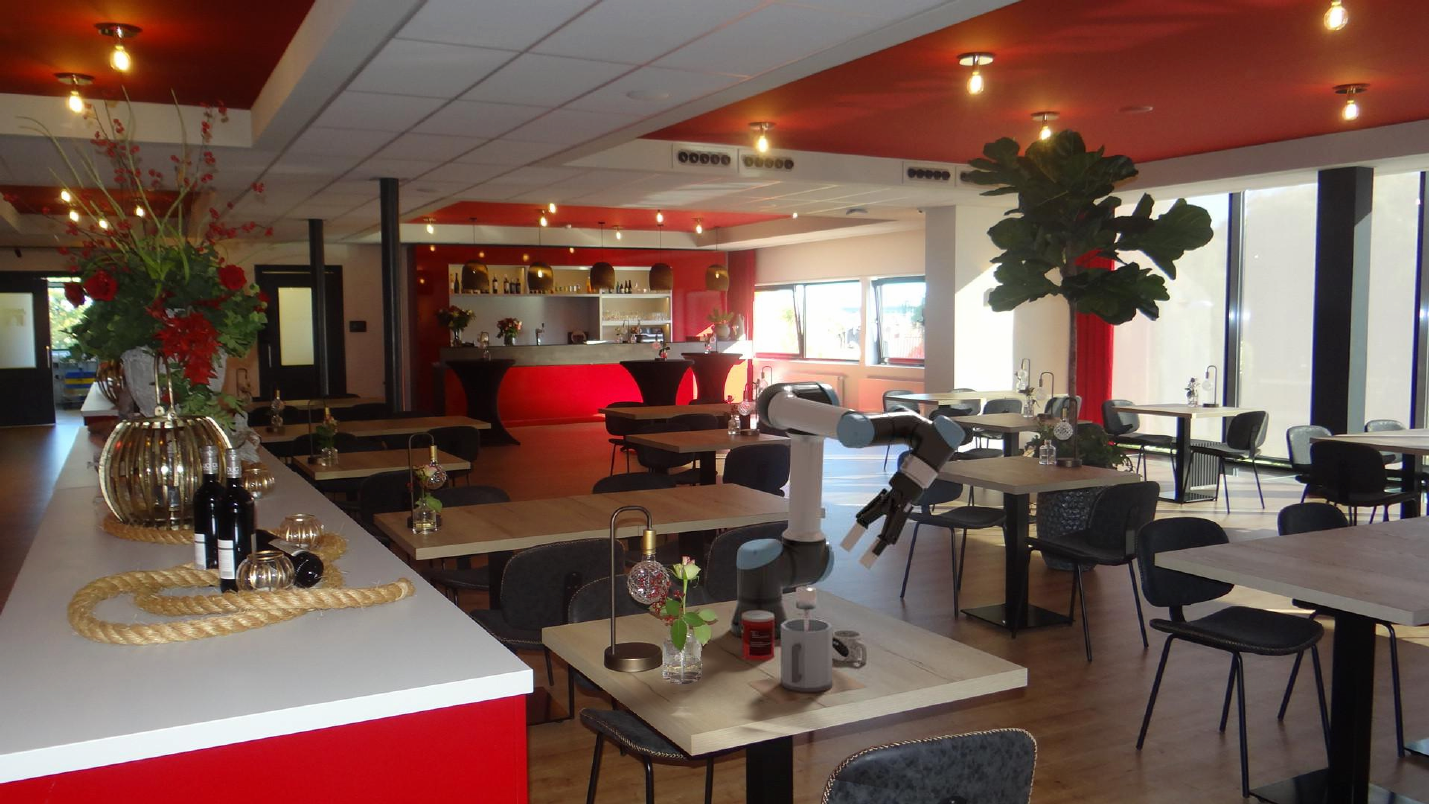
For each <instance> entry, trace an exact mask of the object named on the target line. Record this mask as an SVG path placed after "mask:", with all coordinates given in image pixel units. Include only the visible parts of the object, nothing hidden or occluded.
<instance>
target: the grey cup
mask: <svg viewBox="0 0 1429 804" xmlns="http://www.w3.org/2000/svg"><path fill="white" fill-rule="evenodd" d="M832 633H833V625H832V623H830V622H829V621H825V620H822V619H817V618H810V617H809V632H804V617H803V618H793V619H788V620H787V621H785V622H783V623H782V624H781V637H780V677H781V687H782V688H784V689H785V690H788V691H791V692H795V693H802V694H814V693H821V692H825V691H828V690H830V689H831V688H832V686H833V679H832V668H833V657H832Z"/></svg>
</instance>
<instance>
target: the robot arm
mask: <svg viewBox="0 0 1429 804" xmlns="http://www.w3.org/2000/svg"><path fill="white" fill-rule="evenodd" d="M755 408H756V409H755V410H756V414H757V416H758V418H759V420H760V421H761V422H762V423H763V424H764V425H766V426H767V427H770V428H774V429H778V430H785V434H786V435H787V436H788V437H789V438H790V459H789V460H790V462H789V463H790V464H789V465H790V466H789V492H788V493H789V495H788V519H787V523H788V524H787V528H786V529H785V530H784V531H783V532H782V533H781V541H780V540H779V539H775V538H764V539H763V538H762V539H761V538H760V539H753V540H750V541H747V542H745V543H743V544H741V545H740V546H739V548H738V550H737V554H736V555H737V556H736V572H737V573H736V574H737V578H736V579H737V580H736V583H737V585H736V586H737V588H736V589H737V594H736V595H737V597H736V598H737V602H736V606H735V608H734V611H733V615H732V619H731V621H730V633H731V634H732V635H734V636H735V635H736V637H738V638H741V639H742V622H741V621H742V614H743V613H744V612H747V611H754V610H761V611H768V612H771V613H773V614H774V639H779V638H781V624H782V623H783V622H785V621H787V620H789V619H788V617H787V613H786V610H785V607H784V603H783V589H790V588H795V587H796V588H797V587H801V586H812V585H815V584H817V583H823V582H824V581H826V579H828V578H829V577H830V576H831V574H832V571H833V569H834V566H835V551H834V550H832V549H833V546H832V544H831V543H830V542H829V541H828V540H827V539H826V538H827V535H826V533H825V532H824V531H823V530H822V529H821V525H822V523H821V522H822V519H821V518H822V500H823V498H822V497H823V496H822V494H823V475H824V473H823V470H824V447H825V445H824V443H825V440H826V438H828V439H831V440H836V441H839V443H841V444H842V446H843V447H845V448H847V449H863V448H873V447H886V446H887V447H888V446H897V445H898V446H899V445H904V446H905V445H906V446H907V447H909V448H910V449H912V450H911V451H910V452H909V454H908V455H907V456H904V461H903V462H902V464H901V465H900V466H899V469H900V471H899V470H896V471H895V473H894V474H893V475H892V477H890V479H889V480H888V485H889V486H890V488H891V489H890V490H888V489H887V488H882V490H881V491H880V492H879V493H878V494H877V495H876V496H875V497H874V498H873V499H872V500H871V501H870V502H869V503H867V504H866V505H865V506H864V507H863V508H861V510H860V511H858V512H857V513H856V515H855V517H854V518H856V521H855V522H854V525H853V526H852V527H851V529H850V530H849V531H848V533H847V534H846V535H845V537H844V538H843V540H842V541H841V542H840V543H839V546H840V547H841V548H842V549H844V550H845V551H846V552H848V553H851V551H852V550H853V548H854V547H855V545H856V544H857V543H858V542H859V540H860V539H861V538H862V536H863V535H864V533H865V532H866V531H867V530H869V526H870V525H871V524H872V523H874V522H875V521H877V520H878V519H880V518H882V517H883V516H885V520H884V523H883V526H882V528H881V533H879V534H877V535H876V537H875V539H874V541H873V542H872V543H871V544H870V546H869V547H868V548H867V550H866V551H865V553H864V554H863V555H862V556H861V558H860V559H859V560H858V563H860V564H861V565H862V566H863V567H865V568H866V569H867V570H870V569H871V568H872V566H873V565H874V564H875V563H876V562H877V560H879V558H880V556H881V555H882V554H883V552H884V551H885V550H886V548H887V547H888V546H890V545H893V546H895V545H896V544H897V542H898V540H899V538H900V536H901V534H902V531H903V529H904V526H905V525H906V523H907V521H908V518H909V516H910V515H911V513H912V512H913V510H914V508H915V506H914V505H912V504H911V503H913V504H917V503H918V501H919V500H920V499H921V497H922V496H923V495H924V493H925V489H929V487H930V486H931V484H932V483H933V482H934V480H935V479H936V478H937V477H938V475H939V473H940V472H941V470H942V469H943V468H944V467H945V465H946V464H947V463H948V462H949V460H950V459H951V458H952V456H953V455H954V454H955V452H957V451H958V449H959V447H960V445H961V444H962V442H963V441H964V440H965V437H966V433H965V432H966V431H964V429H963V428H962V427H961V426H960V425H959V424H958V423H956V422H955V421H953V420H952V419H950V418H949V417H947V416H945V415H942V414H941V415H938V416H937V417H936V418H935V419H934V420H930V419H928V418H927V417H925V416H923V415H921V414H919V413H918V412H917V411H915V410H914V409H912V408H911V407H907V406H905V405H901V404H896V405H893V406H892V407H890V408H888V409H887V410H886V411H883V412H880V411H879V412H863V411H858V410H853V409H850V408H845V407H841V402H840V399H839V395H838V393H837V392H836V391H835V388H834V387H832V386H831V385H830V384H829V383H827V382H822V381H811V380H810V381H796V382H777V383H774V384H771V385H769V386H767V387H765V388H764V389H763V390H762V391H761V392H760V394H759V395H758V397H757V399H756V407H755Z"/></svg>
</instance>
